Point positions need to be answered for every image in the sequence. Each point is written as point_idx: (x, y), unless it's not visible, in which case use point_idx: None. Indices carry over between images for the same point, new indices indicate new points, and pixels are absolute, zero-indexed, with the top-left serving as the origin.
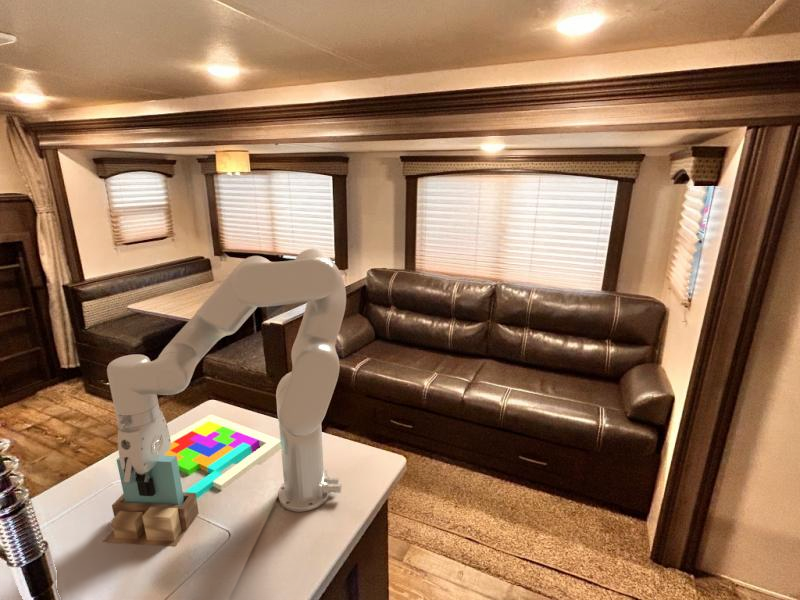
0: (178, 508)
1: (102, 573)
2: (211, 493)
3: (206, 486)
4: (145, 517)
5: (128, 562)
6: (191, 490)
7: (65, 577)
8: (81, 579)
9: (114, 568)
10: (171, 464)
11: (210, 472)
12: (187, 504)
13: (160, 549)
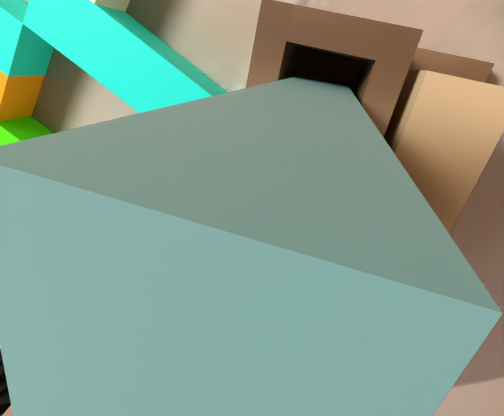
0: (404, 72)
1: (498, 298)
2: (146, 16)
3: (128, 28)
4: None
5: (477, 235)
6: (156, 98)
7: (467, 381)
8: (498, 345)
9: (489, 271)
10: (435, 229)
11: (33, 56)
12: (371, 20)
13: None
